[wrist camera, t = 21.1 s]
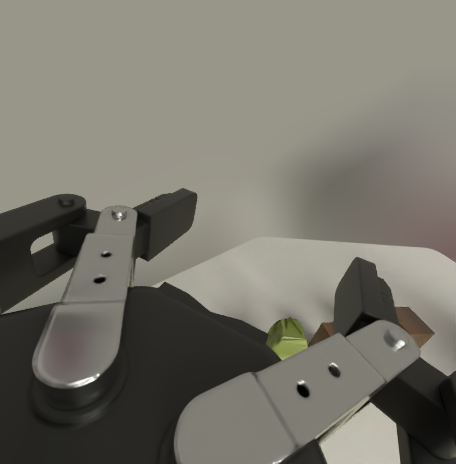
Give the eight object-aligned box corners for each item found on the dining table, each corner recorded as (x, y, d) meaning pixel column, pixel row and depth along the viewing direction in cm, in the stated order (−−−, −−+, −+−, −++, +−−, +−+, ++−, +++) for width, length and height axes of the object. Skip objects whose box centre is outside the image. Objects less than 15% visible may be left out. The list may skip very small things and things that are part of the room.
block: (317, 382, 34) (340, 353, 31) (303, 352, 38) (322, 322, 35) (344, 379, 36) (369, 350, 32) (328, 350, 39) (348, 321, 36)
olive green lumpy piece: (281, 355, 37) (307, 309, 32) (292, 394, 32) (323, 348, 27) (245, 352, 36) (266, 305, 31) (250, 392, 31) (275, 344, 26)
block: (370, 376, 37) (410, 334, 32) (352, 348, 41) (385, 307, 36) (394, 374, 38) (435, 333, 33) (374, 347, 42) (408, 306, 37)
